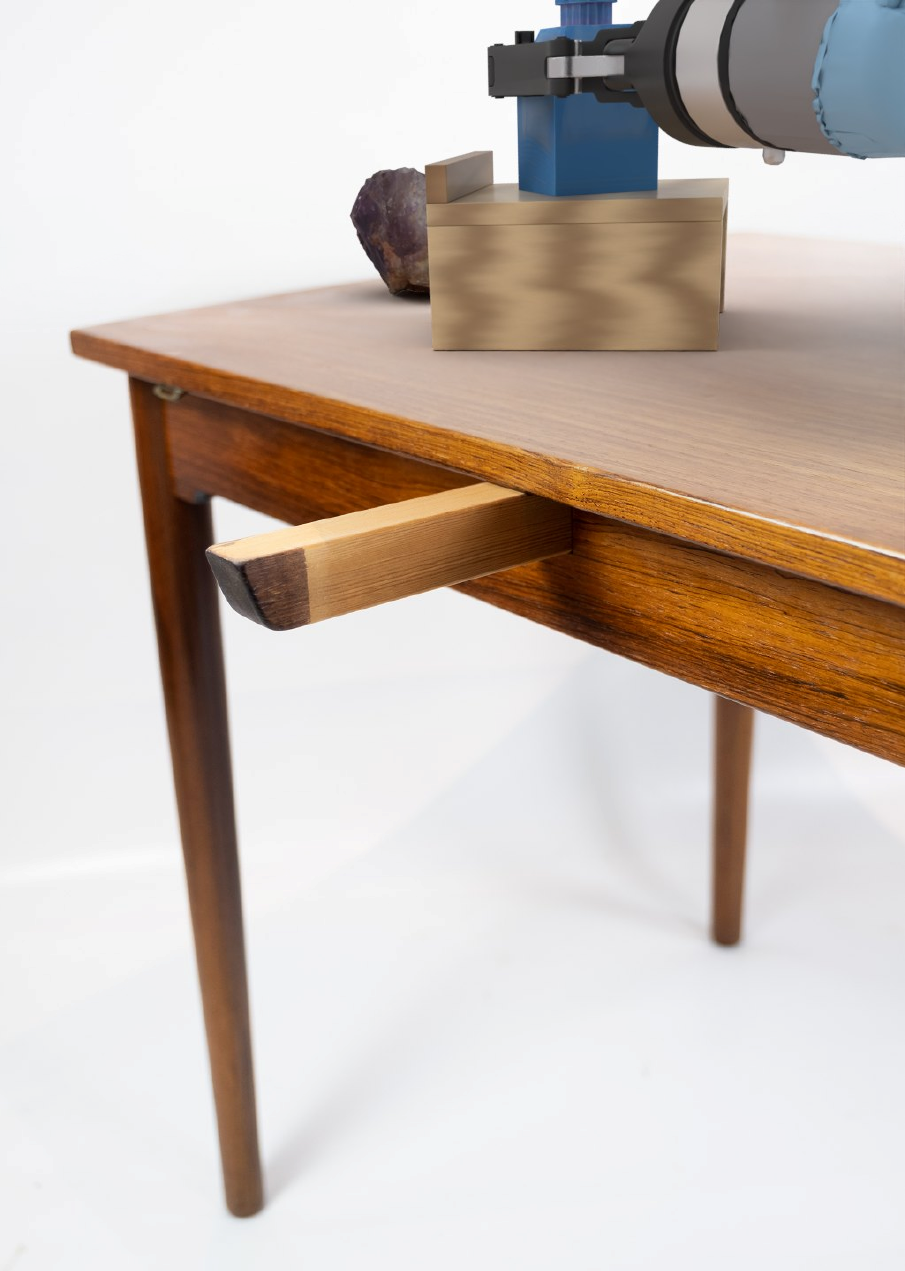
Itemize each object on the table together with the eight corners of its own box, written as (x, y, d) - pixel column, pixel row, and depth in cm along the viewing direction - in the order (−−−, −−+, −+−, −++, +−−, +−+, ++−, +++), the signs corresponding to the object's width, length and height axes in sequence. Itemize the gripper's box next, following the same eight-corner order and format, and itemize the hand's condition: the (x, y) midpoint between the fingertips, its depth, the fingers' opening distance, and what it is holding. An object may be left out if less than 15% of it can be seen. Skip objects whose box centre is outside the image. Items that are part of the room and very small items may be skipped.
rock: (491, 298, 102) (361, 297, 103) (493, 180, 100) (360, 181, 101) (480, 296, 91) (334, 295, 91) (481, 163, 89) (332, 164, 89)
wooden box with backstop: (723, 309, 85) (730, 143, 82) (717, 350, 73) (724, 156, 69) (479, 310, 89) (474, 151, 85) (432, 350, 76) (424, 165, 72)
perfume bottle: (657, 189, 76) (661, -47, 71) (555, 196, 74) (553, -45, 70) (614, 183, 81) (616, -36, 77) (518, 190, 80) (514, -34, 75)
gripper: (544, 159, 58) (401, 144, 79) (922, 139, 63) (695, 130, 84) (543, -33, 55) (395, 4, 76) (939, -37, 60) (700, -2, 81)
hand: (553, 70), depth 80 cm, fingers closed on perfume bottle, 6 cm apart
